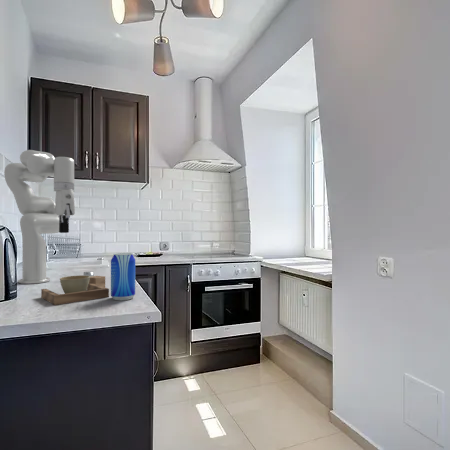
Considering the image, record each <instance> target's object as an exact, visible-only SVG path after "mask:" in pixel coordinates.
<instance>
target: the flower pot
mask: <svg viewBox="0 0 450 450" xmlns="http://www.w3.org/2000/svg"><path fill="white" fill-rule="evenodd" d="M59 280H60V281H59V282H60V286H61V288H62V290H63V292H64V293H63V294H67V293H74V292H82V291H87V287H88V284H89V280H90V276H85V275H84V274H83V275H80V274H79V275H68V276H62V277H60V278H59Z"/></svg>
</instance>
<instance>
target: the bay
mask: <svg viewBox="0 0 450 450" xmlns="http://www.w3.org/2000/svg"><path fill="white" fill-rule="evenodd" d="M40 292H41V295H40V296H41V299H43V300H45V301H46V302H48V303H50V304H52V305H54V306H59V305H65V304H71V303H77V302H78V303H79V302H84V301H90V300H96V299H97V300H98V299H103V298H109V297H110V289H109V288H108V287H106V286H105V287H102V286H99V285H96V284H93V283H90V284H88V290H86V291H82V292H74V293H67V294H65V293H60V294H58V293H56V292H54V291H52V290H49V289H47V288H41V291H40Z"/></svg>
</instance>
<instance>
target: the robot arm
mask: <svg viewBox="0 0 450 450" xmlns="http://www.w3.org/2000/svg"><path fill="white" fill-rule="evenodd" d="M19 161H20V162H21V163H20V162H12V163H9V164H7V165H6V166H5V167H4V170H3V171H4V173H3V174H4V180H5V183H6V185H7V187H8V188H9V190H10V191H11V192H12V194H13V197H14V199H15V203H16V205H17V208H18V211H19V213H20V214H21V215H22V216H21V217H20V220H19V225H20V232H21V238H22V242H21V243H22V248H21V249H22V255H21V256H22V260H21V261H22V263H21V264H22V269H21V270H22V277H21V278H20V279H18V284H24V285H25V284H27V285H28V284H31V285H32V284H40V283H41V284H42V283H47V282H49V281H50V280H51V277H48V276H47V242H46V240H45V239H44V237H43V236H42V234H43V235H44V234H49V235H50V234H51V235H52V234H58V233H60V234H68V233H69V232H70V229H69V228H70V227H69V226H70V218H71V216H74V215H75V214H76V209H75V206H76V205H75V194H74V192H75V160H74V159H73V158H72V157H67V156H56V157H55V156H54V155H53V154H52V153H50V152H46V151H39V150H33V149H26V150H24V151H22V152H21V154H20V156H19ZM48 177H50V178H53V192H55V200H54V199H52V198H50V197H46V196H37V195H36V194H35V191H34V190H33V188H32V187H31V185H29V184H28V183H26V182H29V183H43V182H45V180H47V178H48Z"/></svg>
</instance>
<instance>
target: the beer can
mask: <svg viewBox="0 0 450 450" xmlns="http://www.w3.org/2000/svg"><path fill="white" fill-rule="evenodd" d="M135 295H136V258H135V256H134V254H133V253H132V252H116V253H113V256H112V257H111V259H110V296H111V298H112V299H113V300H114V301H128V300H132V299H133V298H134V296H135Z"/></svg>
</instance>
